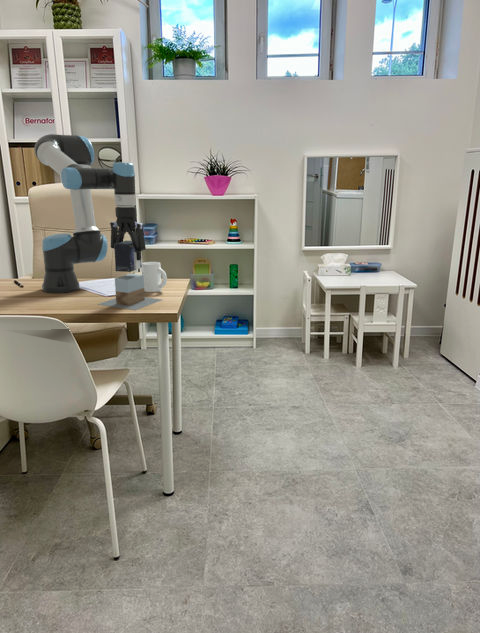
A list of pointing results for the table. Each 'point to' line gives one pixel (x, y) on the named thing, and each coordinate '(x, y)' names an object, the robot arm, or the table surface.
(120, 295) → the block bottom
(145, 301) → the mat
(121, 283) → the block top
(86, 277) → the table surface
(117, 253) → the small box
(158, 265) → the mug
